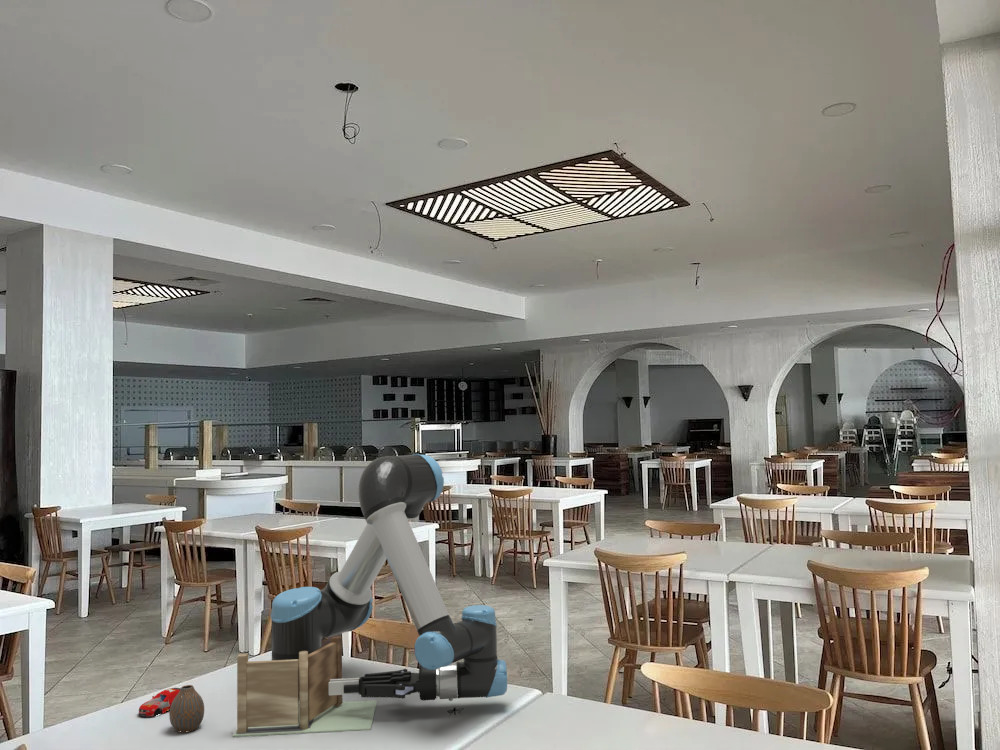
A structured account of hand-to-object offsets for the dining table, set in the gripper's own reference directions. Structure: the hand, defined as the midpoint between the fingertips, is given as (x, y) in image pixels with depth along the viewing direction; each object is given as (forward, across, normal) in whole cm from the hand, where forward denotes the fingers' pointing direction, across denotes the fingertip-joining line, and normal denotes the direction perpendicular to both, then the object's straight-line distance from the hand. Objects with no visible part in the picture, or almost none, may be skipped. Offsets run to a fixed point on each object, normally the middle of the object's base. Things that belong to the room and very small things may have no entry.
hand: (329, 687), depth 172 cm
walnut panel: (+1, 0, -5) cm, 6 cm away
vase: (+29, -3, -6) cm, 30 cm away
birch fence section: (+10, -7, -6) cm, 14 cm away
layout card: (+4, 0, -6) cm, 8 cm away
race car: (+38, +11, -6) cm, 40 cm away
